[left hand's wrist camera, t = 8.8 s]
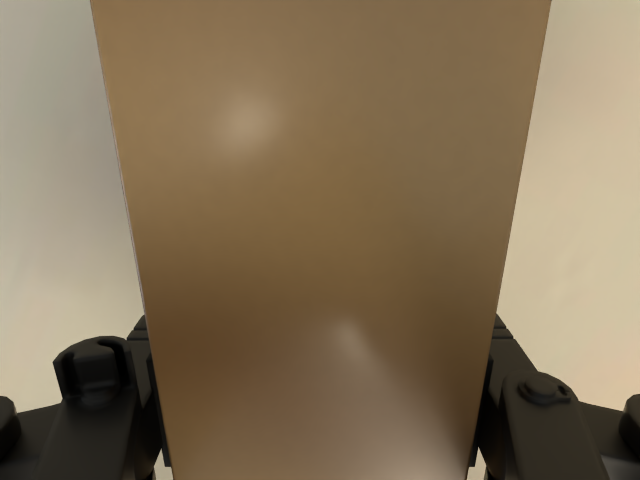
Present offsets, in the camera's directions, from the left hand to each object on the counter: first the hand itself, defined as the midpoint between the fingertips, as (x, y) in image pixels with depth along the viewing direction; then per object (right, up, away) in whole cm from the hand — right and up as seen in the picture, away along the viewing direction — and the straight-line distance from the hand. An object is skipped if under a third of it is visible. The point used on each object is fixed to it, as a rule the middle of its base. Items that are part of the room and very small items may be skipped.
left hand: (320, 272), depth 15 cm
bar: (0, +24, -9) cm, 26 cm away
